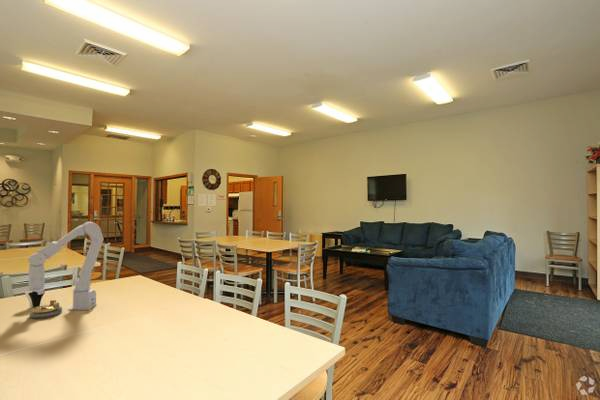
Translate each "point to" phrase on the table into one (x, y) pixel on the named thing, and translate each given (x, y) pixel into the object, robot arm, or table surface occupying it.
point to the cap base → (45, 314)
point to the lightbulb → (29, 298)
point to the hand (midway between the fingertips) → (36, 306)
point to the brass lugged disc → (47, 308)
